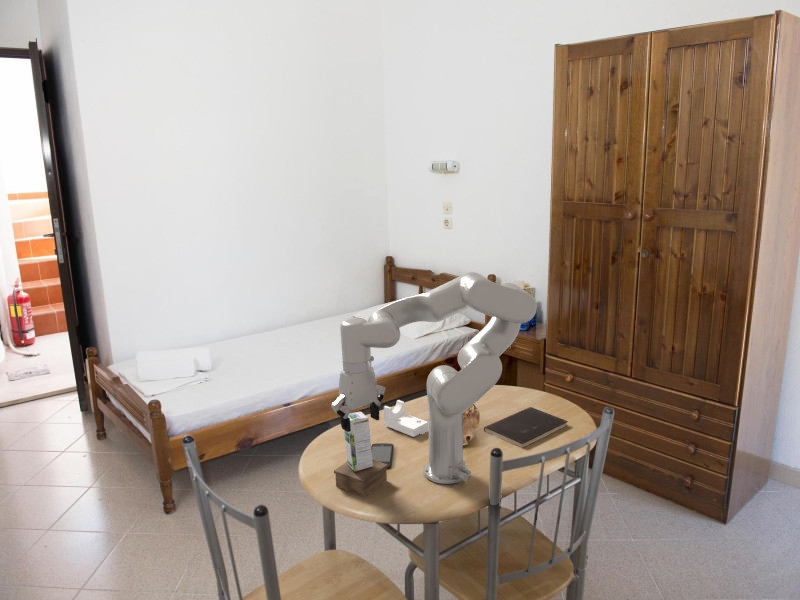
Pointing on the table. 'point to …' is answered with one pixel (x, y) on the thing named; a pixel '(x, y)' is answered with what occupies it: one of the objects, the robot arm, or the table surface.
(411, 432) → the bracket
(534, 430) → the hardcover book
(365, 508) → the table surface
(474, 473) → the table surface
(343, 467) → the walnut box
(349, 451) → the syrup box
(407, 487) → the table surface
